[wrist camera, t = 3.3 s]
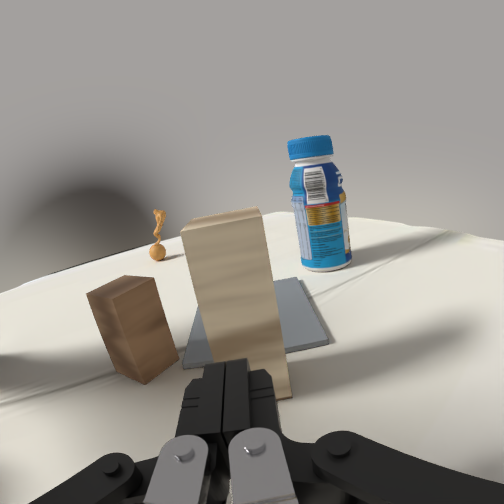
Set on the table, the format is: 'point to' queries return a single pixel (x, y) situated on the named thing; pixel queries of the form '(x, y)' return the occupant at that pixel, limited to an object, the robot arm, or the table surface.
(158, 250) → the figurine
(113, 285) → the walnut block
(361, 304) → the table surface
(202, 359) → the slate mat
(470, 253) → the table surface
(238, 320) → the beech block
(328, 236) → the beverage bottle
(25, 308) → the table surface
